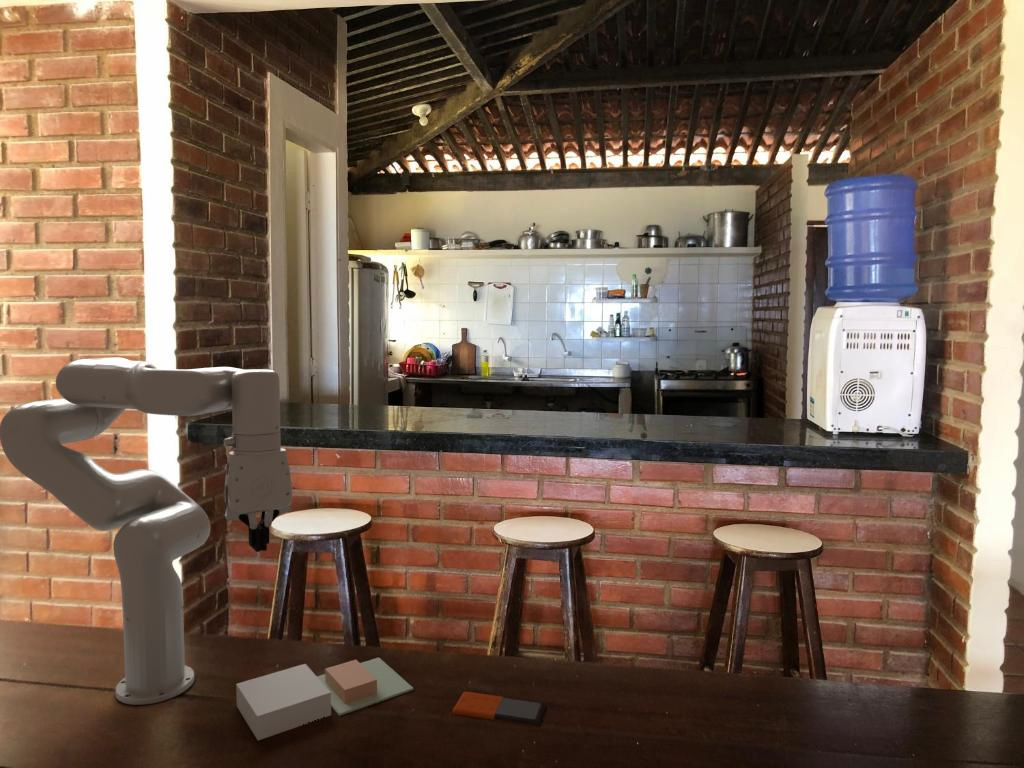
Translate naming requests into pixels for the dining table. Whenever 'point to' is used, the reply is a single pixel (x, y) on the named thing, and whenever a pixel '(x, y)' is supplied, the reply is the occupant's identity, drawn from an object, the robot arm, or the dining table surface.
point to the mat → (386, 687)
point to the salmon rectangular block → (351, 681)
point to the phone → (500, 708)
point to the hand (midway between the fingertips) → (259, 549)
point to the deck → (282, 701)
